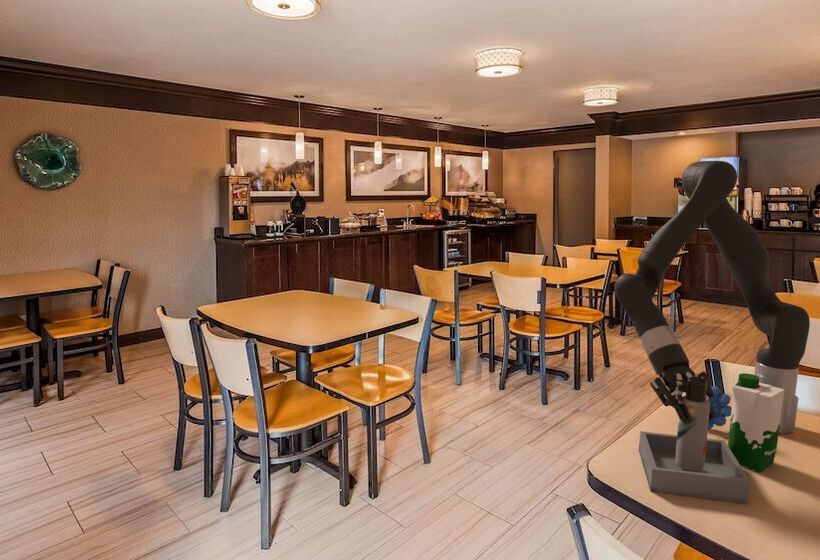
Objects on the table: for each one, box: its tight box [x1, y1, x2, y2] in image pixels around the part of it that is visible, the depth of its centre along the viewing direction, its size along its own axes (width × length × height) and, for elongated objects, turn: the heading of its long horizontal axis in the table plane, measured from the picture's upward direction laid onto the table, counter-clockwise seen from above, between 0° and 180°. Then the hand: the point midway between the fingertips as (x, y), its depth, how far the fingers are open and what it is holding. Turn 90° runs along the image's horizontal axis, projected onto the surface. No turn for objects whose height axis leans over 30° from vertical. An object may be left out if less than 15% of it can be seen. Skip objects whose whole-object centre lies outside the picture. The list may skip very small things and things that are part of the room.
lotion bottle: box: [675, 376, 710, 471], centre depth 118 cm, size 6×6×20 cm
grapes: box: [706, 385, 732, 430], centre depth 142 cm, size 12×7×12 cm, turn 42°
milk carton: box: [727, 373, 784, 473], centre depth 123 cm, size 9×9×20 cm
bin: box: [638, 430, 751, 505], centre depth 119 cm, size 18×18×5 cm
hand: (699, 420), depth 116 cm, fingers closed on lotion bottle, 5 cm apart
